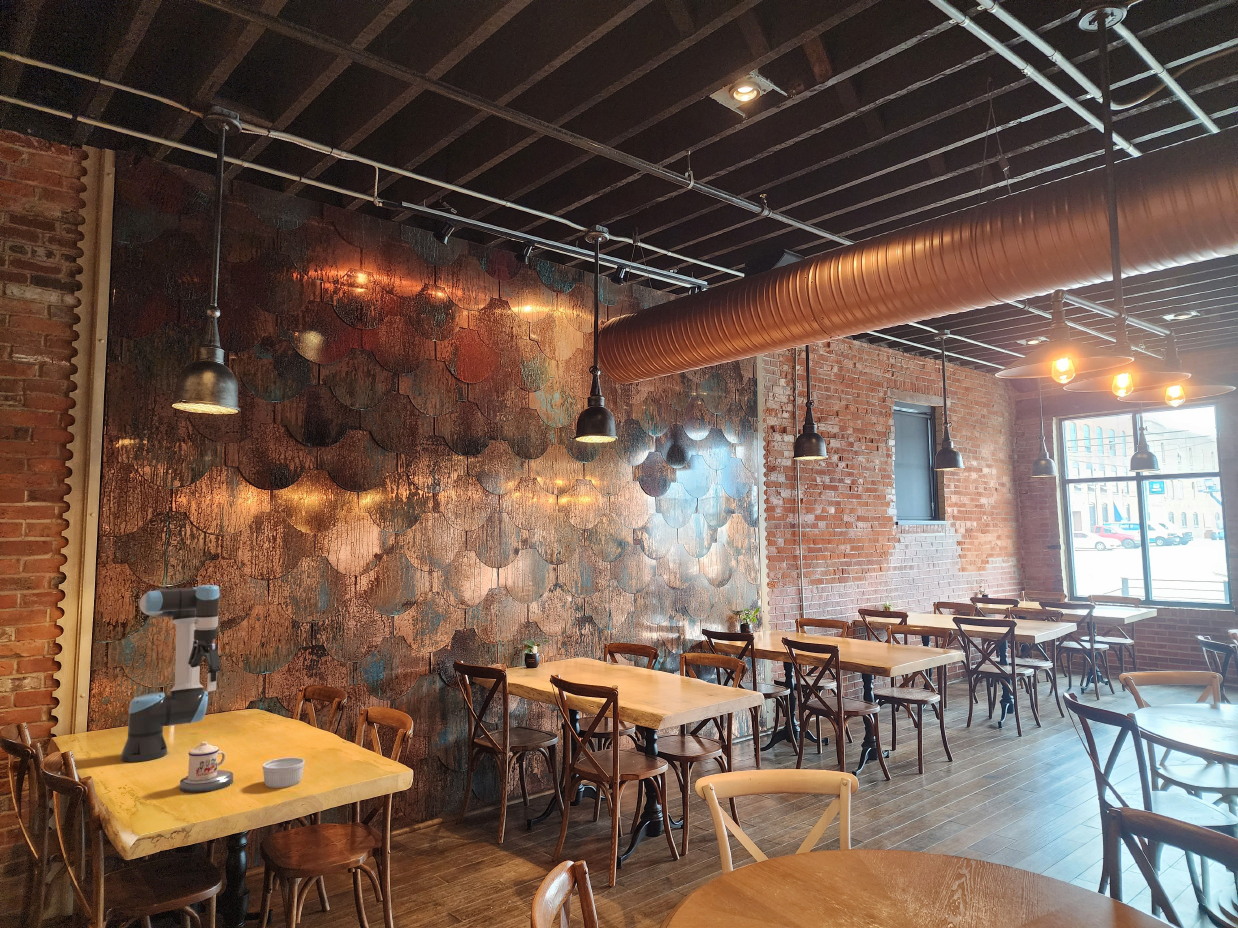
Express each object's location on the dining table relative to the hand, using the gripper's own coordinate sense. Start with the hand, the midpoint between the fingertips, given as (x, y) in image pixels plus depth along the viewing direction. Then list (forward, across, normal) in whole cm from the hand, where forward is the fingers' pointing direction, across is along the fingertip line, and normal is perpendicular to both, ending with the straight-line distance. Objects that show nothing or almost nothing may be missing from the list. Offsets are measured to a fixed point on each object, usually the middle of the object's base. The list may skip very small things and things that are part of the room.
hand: (202, 687), depth 271 cm
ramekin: (+30, +34, +13) cm, 47 cm away
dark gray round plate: (+30, +15, -4) cm, 34 cm away
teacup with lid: (+27, +15, -4) cm, 31 cm away
